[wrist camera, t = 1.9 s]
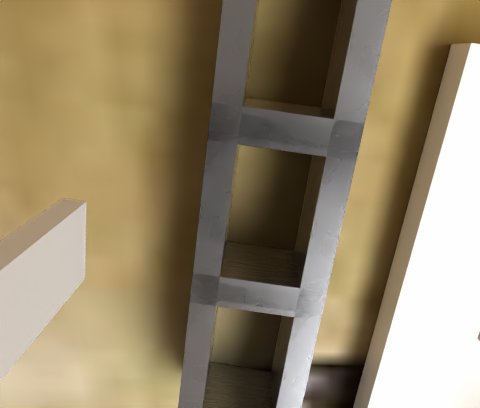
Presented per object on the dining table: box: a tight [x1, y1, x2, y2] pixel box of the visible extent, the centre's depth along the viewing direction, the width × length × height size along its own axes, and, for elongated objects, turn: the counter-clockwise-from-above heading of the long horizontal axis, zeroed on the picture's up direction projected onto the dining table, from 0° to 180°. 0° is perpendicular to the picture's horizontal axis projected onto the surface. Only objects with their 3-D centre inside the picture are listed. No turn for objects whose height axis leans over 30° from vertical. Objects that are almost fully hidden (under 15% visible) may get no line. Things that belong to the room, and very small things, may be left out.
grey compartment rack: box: [178, 0, 392, 408], centre depth 21 cm, size 24×6×4 cm, turn 172°
